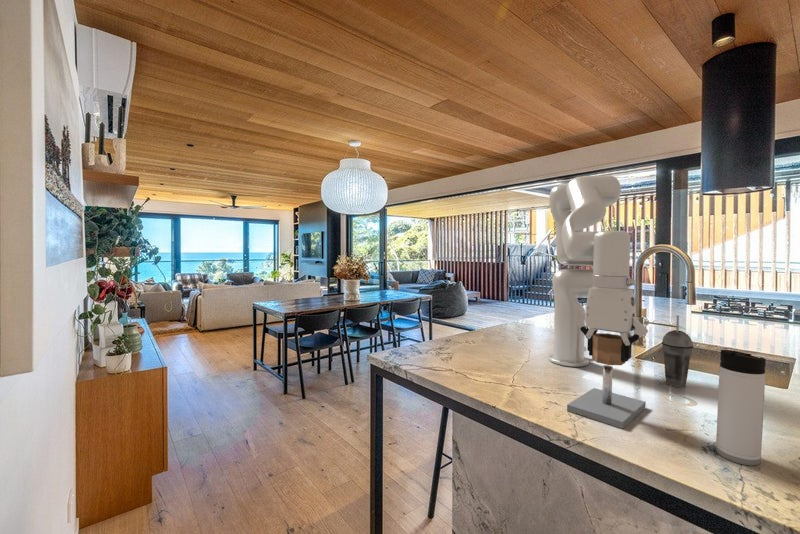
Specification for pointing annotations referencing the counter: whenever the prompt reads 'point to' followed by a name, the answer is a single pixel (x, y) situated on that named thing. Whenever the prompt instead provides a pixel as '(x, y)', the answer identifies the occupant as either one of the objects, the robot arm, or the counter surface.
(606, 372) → the metal rod
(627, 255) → the robot arm
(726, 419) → the travel mug
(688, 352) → the beverage cup
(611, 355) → the walnut bead
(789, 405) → the counter surface
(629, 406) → the rod board
